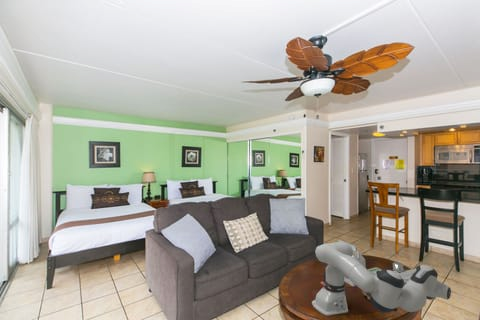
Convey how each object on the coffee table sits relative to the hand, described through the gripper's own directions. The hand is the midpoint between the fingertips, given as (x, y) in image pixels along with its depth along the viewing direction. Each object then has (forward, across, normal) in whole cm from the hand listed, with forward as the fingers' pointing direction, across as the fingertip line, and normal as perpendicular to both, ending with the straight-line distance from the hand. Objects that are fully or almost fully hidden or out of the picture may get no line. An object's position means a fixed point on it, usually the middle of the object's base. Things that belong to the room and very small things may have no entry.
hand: (396, 271), depth 156 cm
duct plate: (+19, +7, -14) cm, 24 cm away
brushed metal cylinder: (-1, 0, -7) cm, 7 cm away
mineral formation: (0, -22, -14) cm, 27 cm away
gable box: (+27, -17, -14) cm, 35 cm away
